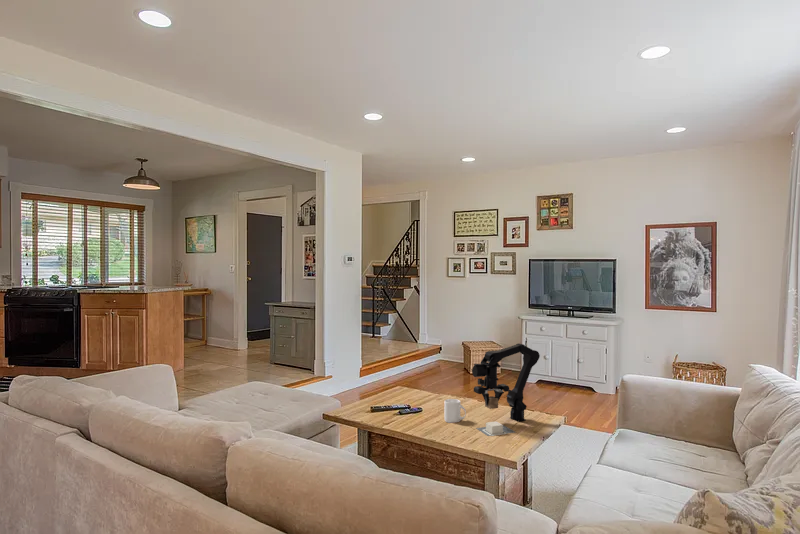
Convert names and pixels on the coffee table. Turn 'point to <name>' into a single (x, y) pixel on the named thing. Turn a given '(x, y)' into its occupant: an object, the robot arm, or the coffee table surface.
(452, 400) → the mug
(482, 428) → the grey flat rectangular panel
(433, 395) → the coffee table surface
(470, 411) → the coffee table surface
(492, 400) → the walnut cube
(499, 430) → the base block
